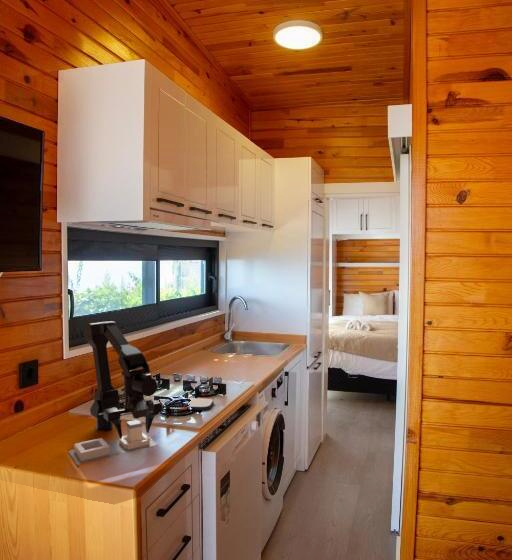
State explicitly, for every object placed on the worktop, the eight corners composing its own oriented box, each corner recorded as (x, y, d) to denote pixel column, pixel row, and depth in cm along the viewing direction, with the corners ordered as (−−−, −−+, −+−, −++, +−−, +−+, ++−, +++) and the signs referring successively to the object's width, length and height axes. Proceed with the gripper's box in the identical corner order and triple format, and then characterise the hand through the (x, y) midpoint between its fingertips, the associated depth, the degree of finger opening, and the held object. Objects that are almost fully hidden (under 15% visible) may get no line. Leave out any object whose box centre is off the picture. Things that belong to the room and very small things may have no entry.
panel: (68, 453, 159) (67, 443, 159) (145, 436, 173) (145, 426, 173) (77, 467, 149) (77, 456, 149) (158, 447, 163) (158, 437, 163)
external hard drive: (153, 410, 202) (152, 405, 202) (161, 401, 214) (161, 397, 214) (209, 412, 199) (209, 407, 199) (214, 403, 211) (214, 398, 211)
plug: (126, 442, 165) (126, 421, 165) (138, 439, 168) (137, 419, 167) (130, 446, 162) (130, 425, 162) (142, 443, 164) (141, 423, 164)
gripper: (112, 400, 152) (114, 450, 153) (169, 390, 162) (169, 437, 163) (102, 392, 161) (103, 438, 162) (156, 383, 171) (157, 427, 172)
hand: (134, 435), depth 165 cm, fingers open, 9 cm apart
